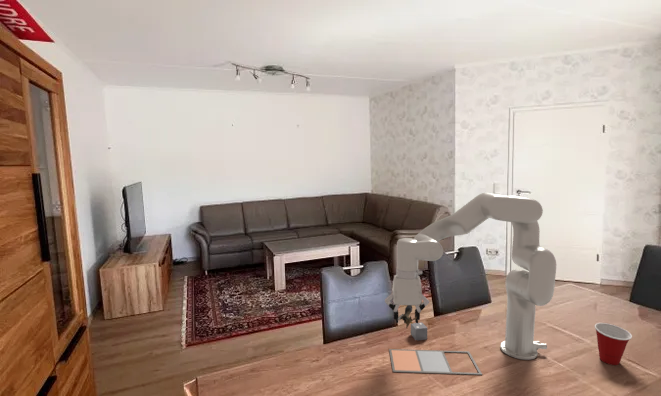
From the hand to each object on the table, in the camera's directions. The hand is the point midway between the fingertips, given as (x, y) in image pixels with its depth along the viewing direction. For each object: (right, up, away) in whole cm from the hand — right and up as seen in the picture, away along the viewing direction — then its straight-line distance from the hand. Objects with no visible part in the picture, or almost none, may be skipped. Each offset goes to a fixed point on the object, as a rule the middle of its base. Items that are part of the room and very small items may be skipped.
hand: (406, 320), depth 132 cm
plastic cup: (+74, -15, +1) cm, 75 cm away
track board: (+10, -15, +1) cm, 18 cm away
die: (+9, -13, +19) cm, 25 cm away
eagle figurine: (0, -2, +2) cm, 2 cm away
